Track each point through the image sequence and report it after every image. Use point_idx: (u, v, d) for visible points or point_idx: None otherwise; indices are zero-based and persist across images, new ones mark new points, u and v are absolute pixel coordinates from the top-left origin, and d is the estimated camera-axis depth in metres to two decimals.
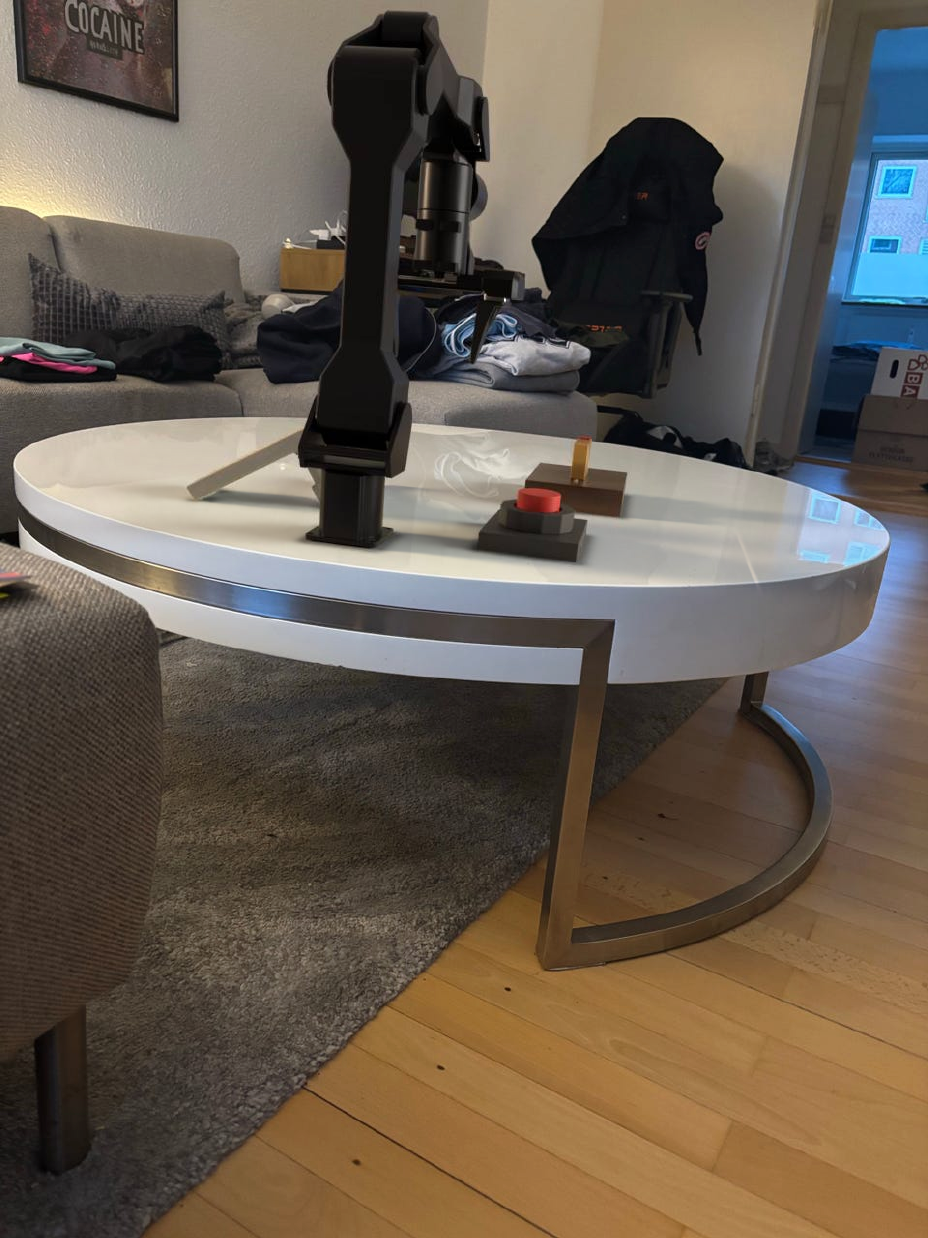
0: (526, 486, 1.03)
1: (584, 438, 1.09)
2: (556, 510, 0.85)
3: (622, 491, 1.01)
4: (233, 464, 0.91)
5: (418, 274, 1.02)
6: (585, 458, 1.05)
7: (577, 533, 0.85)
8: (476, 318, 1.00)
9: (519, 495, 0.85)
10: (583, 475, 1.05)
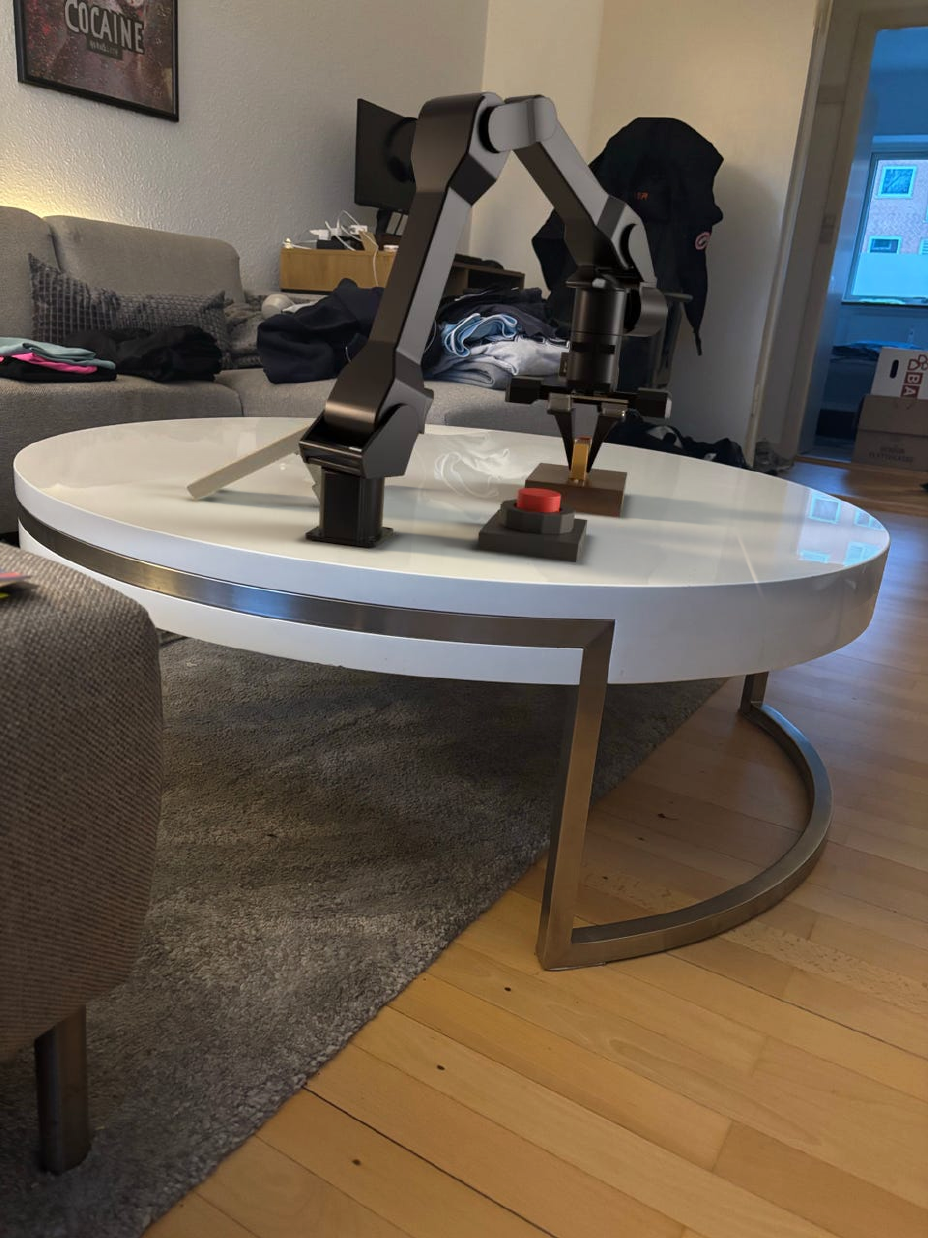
0: (526, 486, 1.03)
1: (584, 438, 1.09)
2: (556, 510, 0.85)
3: (622, 491, 1.01)
4: (233, 464, 0.91)
5: (569, 391, 1.05)
6: (585, 458, 1.05)
7: (577, 533, 0.85)
8: (595, 432, 1.04)
9: (519, 495, 0.85)
10: (583, 475, 1.05)
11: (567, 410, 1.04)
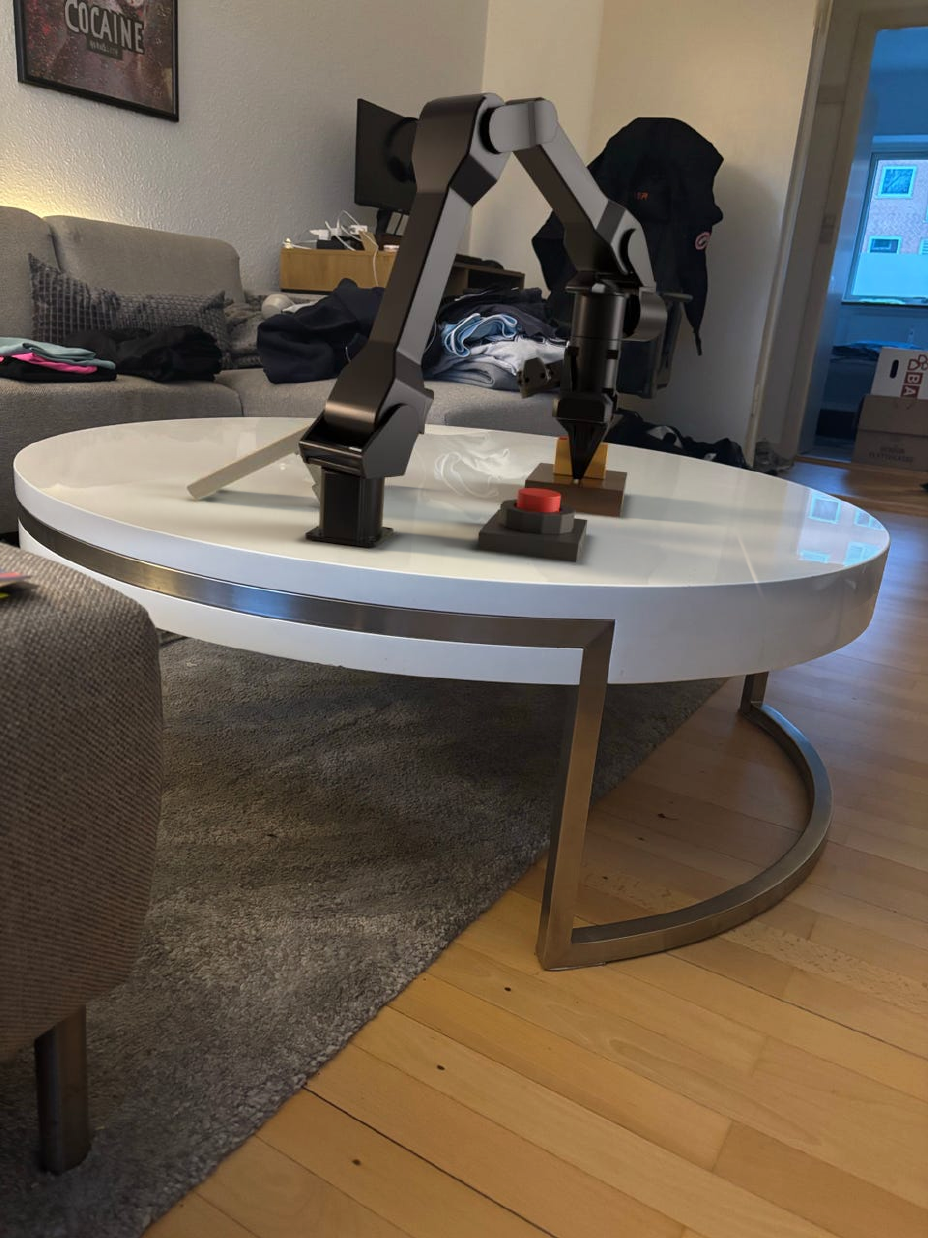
0: (526, 486, 1.03)
1: (567, 438, 1.07)
2: (556, 510, 0.85)
3: (622, 491, 1.01)
4: (233, 464, 0.91)
5: None
6: (607, 456, 1.08)
7: (577, 533, 0.85)
8: (605, 432, 1.09)
9: (519, 495, 0.85)
10: None
11: None
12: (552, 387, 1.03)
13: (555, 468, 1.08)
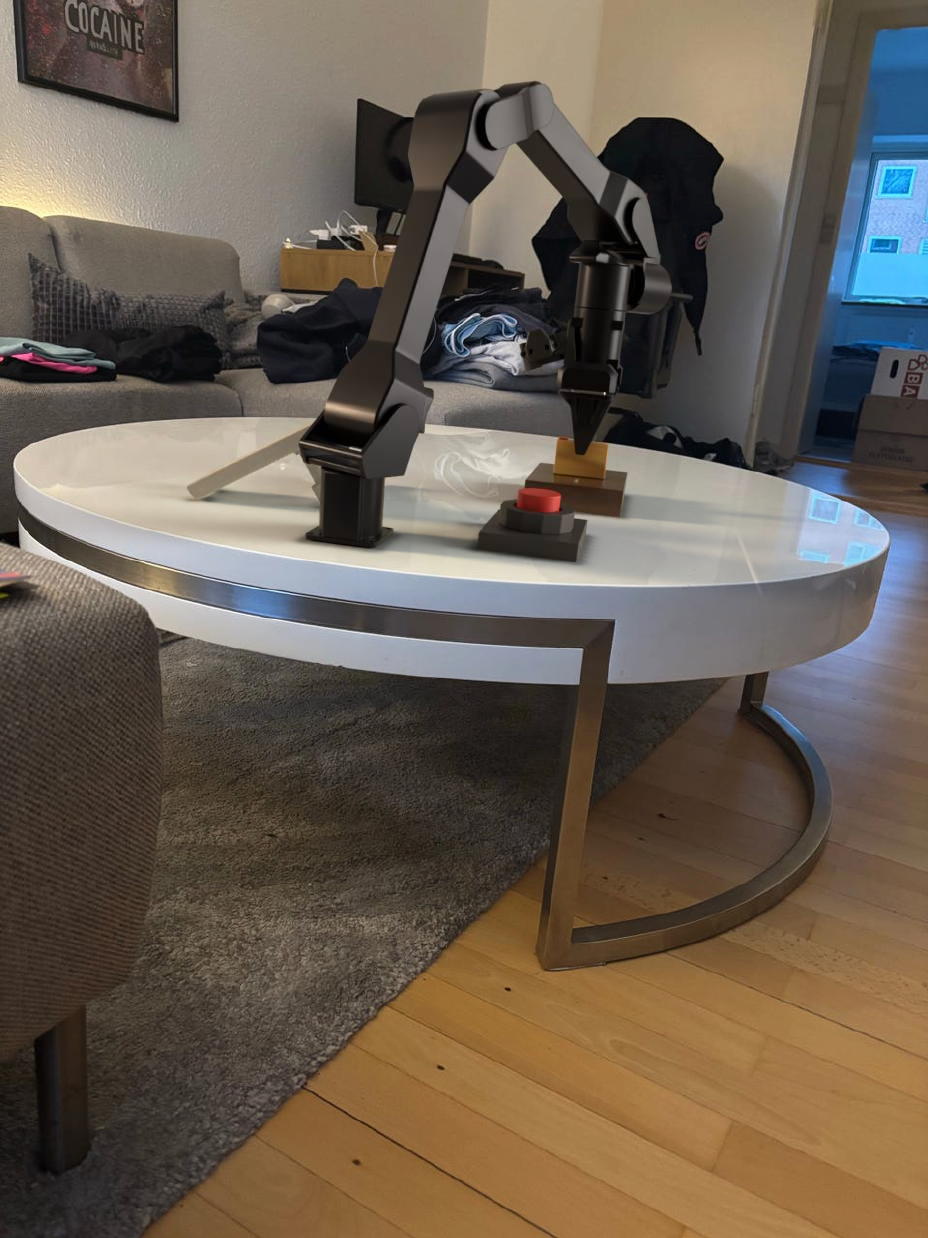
0: (526, 486, 1.03)
1: (567, 438, 1.07)
2: (556, 510, 0.85)
3: (622, 491, 1.01)
4: (233, 464, 0.91)
5: None
6: (607, 456, 1.08)
7: (577, 533, 0.85)
8: (610, 404, 1.10)
9: (519, 495, 0.85)
10: None
11: (606, 393, 0.99)
12: (556, 359, 1.03)
13: (555, 468, 1.08)
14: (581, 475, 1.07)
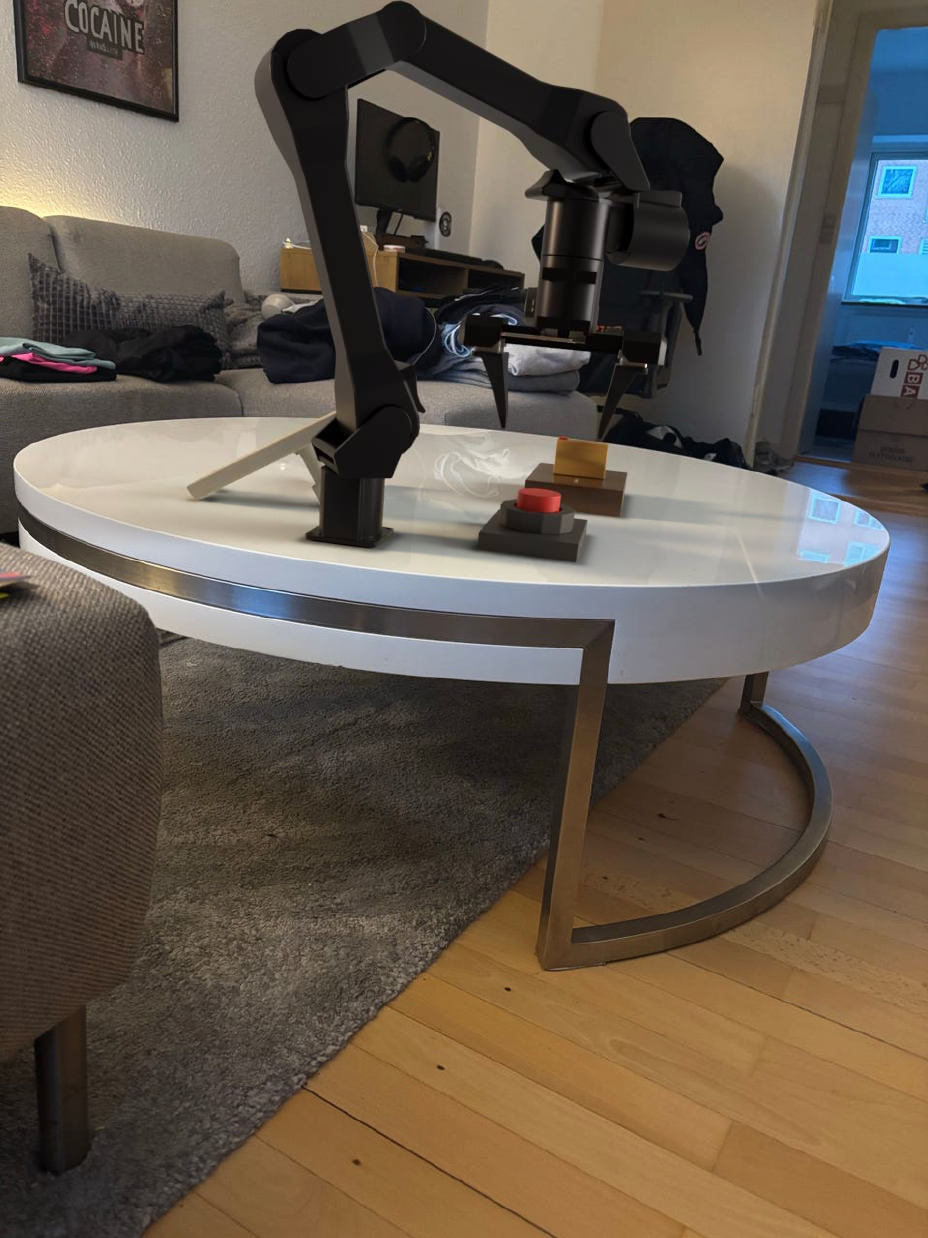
0: (526, 486, 1.03)
1: (567, 438, 1.07)
2: (556, 510, 0.85)
3: (622, 491, 1.01)
4: (233, 464, 0.91)
5: (538, 332, 0.84)
6: (607, 456, 1.08)
7: (577, 533, 0.85)
8: (611, 387, 0.83)
9: (519, 495, 0.85)
10: None
11: (497, 351, 0.84)
12: None
13: (555, 468, 1.08)
14: (581, 475, 1.07)
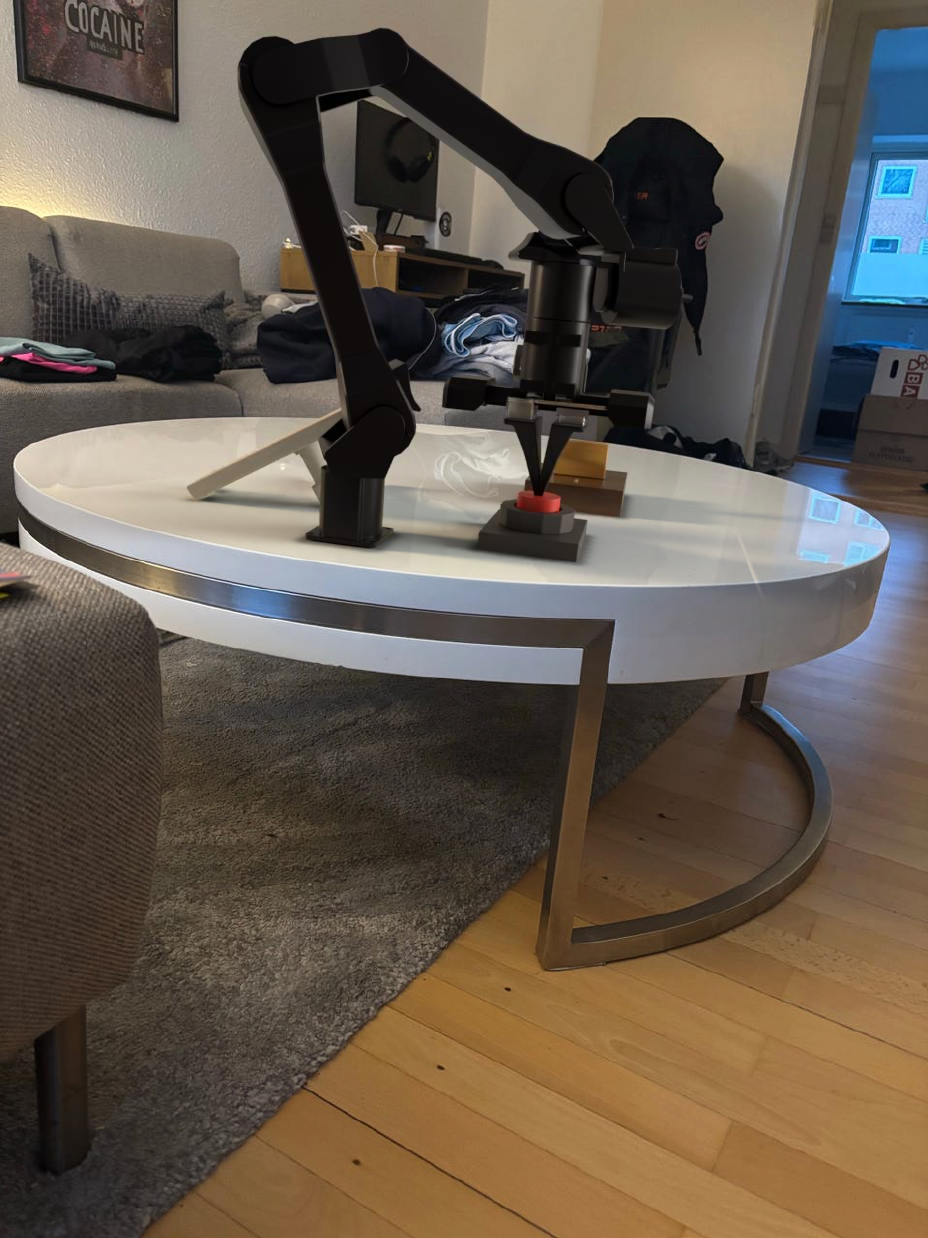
0: (526, 486, 1.03)
1: None
2: None
3: (622, 491, 1.01)
4: (233, 464, 0.91)
5: (523, 394, 0.83)
6: (607, 456, 1.08)
7: (577, 533, 0.85)
8: (548, 445, 0.82)
9: (519, 498, 0.85)
10: None
11: (530, 419, 0.82)
12: None
13: (555, 468, 1.08)
14: (581, 475, 1.07)
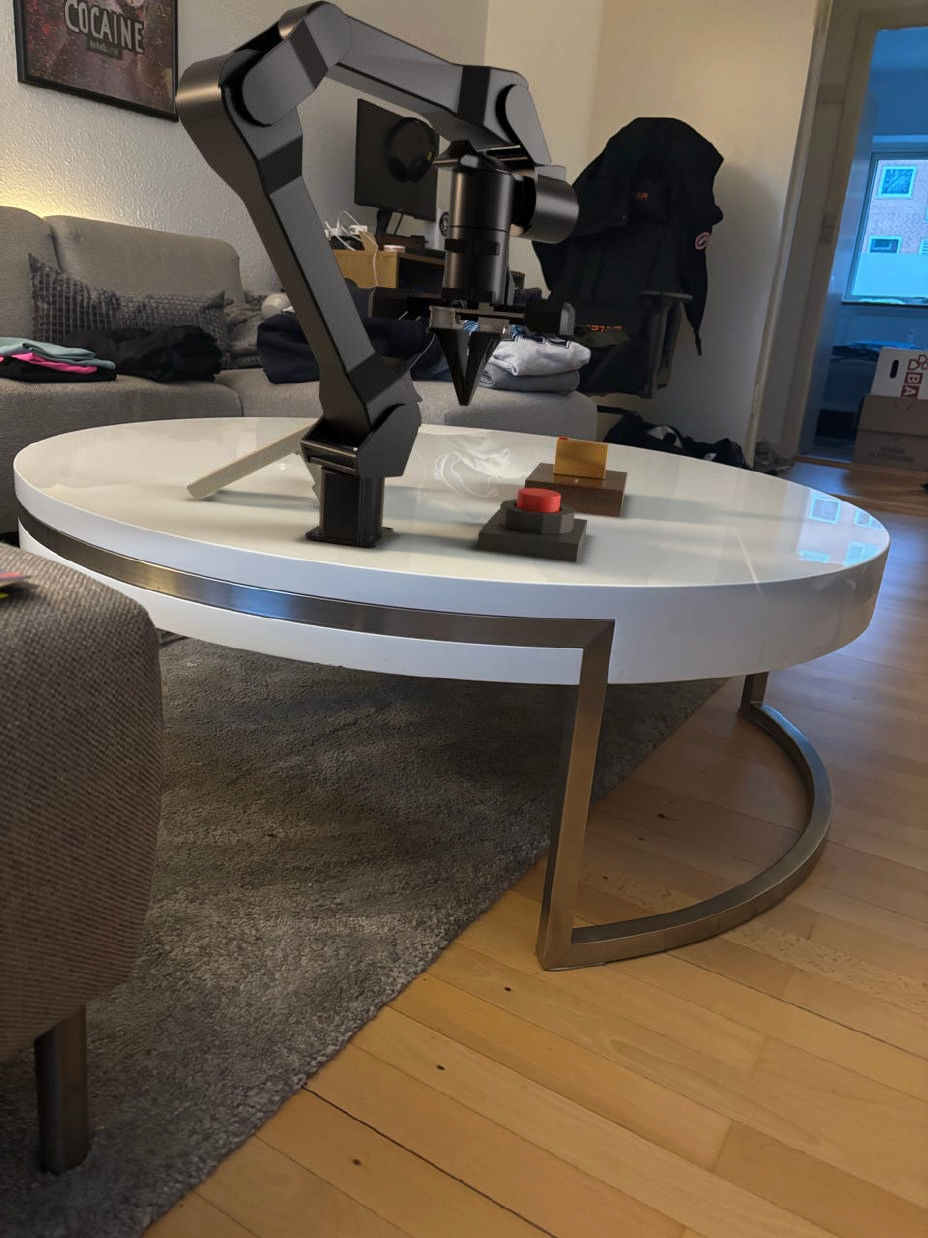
0: (526, 486, 1.03)
1: (567, 438, 1.07)
2: (556, 510, 0.85)
3: (622, 491, 1.01)
4: (233, 464, 0.91)
5: (447, 304, 0.85)
6: (607, 456, 1.08)
7: (577, 533, 0.85)
8: (469, 353, 0.84)
9: (519, 495, 0.85)
10: None
11: (451, 328, 0.84)
12: None
13: (555, 468, 1.08)
14: (581, 475, 1.07)
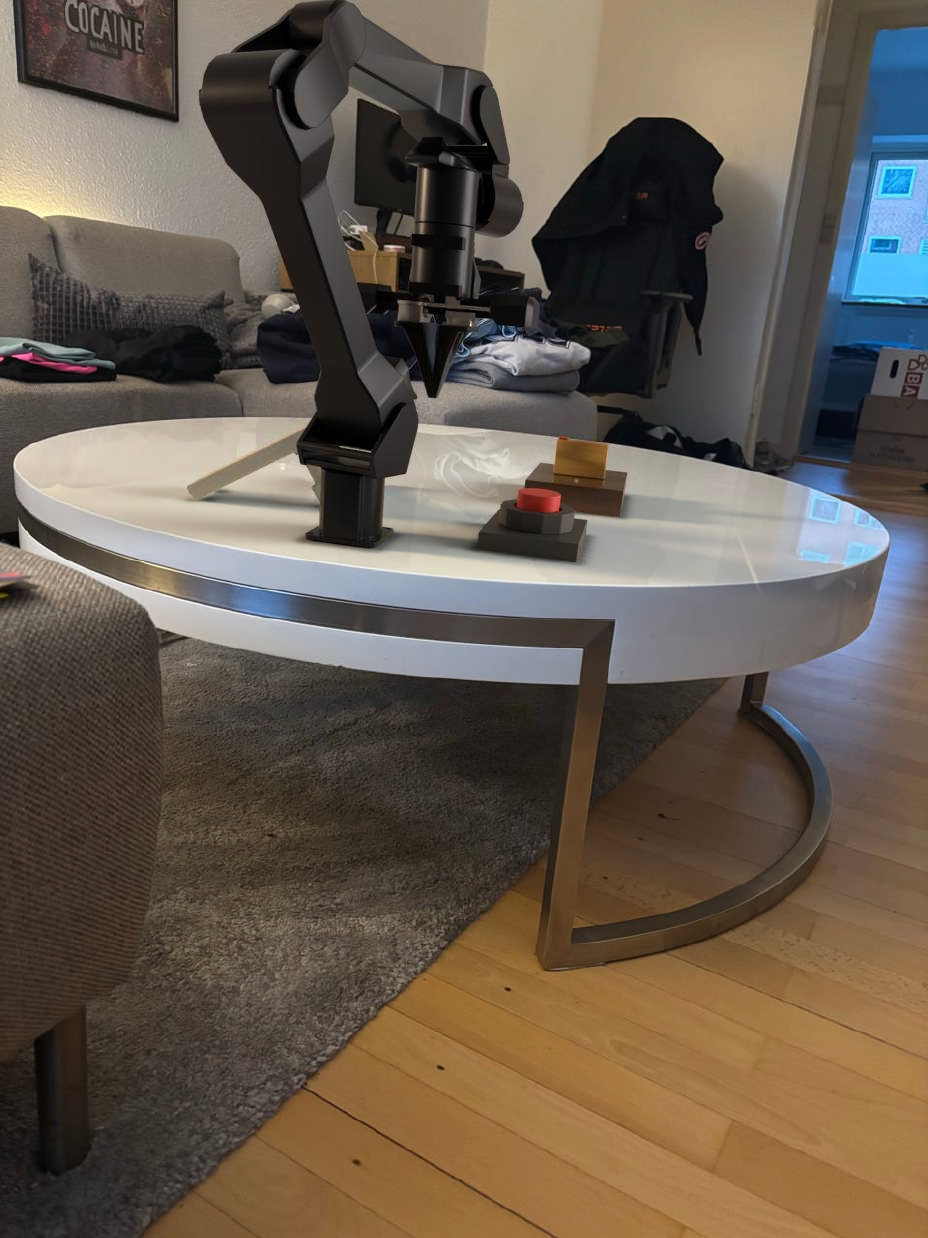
0: (526, 486, 1.03)
1: (567, 438, 1.07)
2: (556, 510, 0.85)
3: (622, 491, 1.01)
4: (233, 464, 0.91)
5: (415, 298, 0.87)
6: (607, 456, 1.08)
7: (577, 533, 0.85)
8: (437, 346, 0.86)
9: (519, 495, 0.85)
10: None
11: (419, 321, 0.86)
12: None
13: (555, 468, 1.08)
14: (581, 475, 1.07)
